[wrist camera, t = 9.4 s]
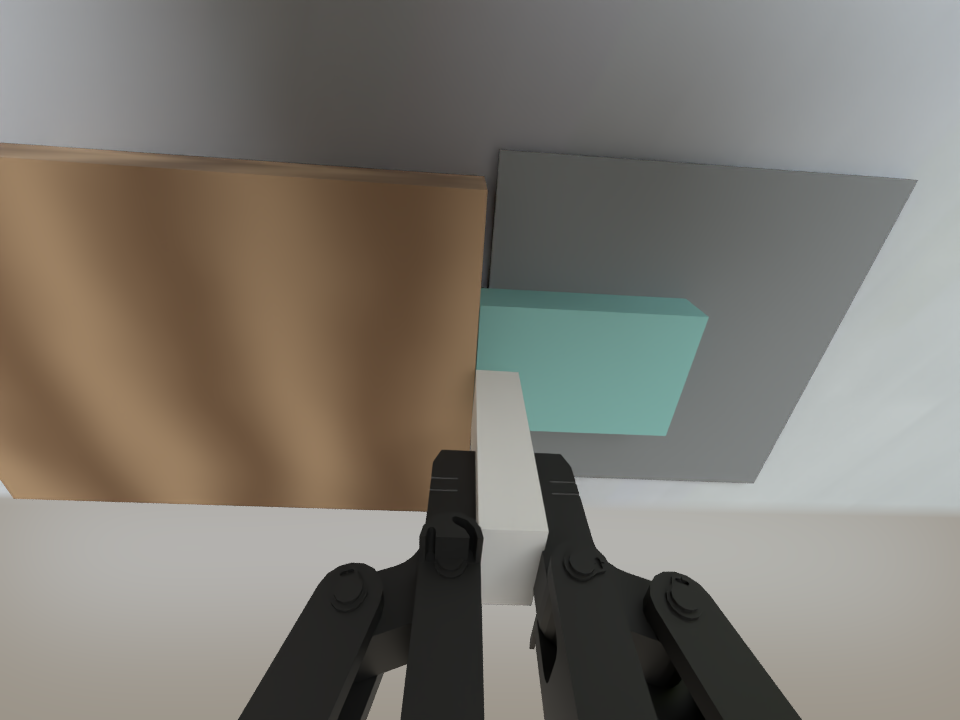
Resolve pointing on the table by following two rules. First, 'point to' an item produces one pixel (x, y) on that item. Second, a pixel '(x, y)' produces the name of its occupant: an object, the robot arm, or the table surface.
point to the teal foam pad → (591, 356)
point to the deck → (233, 328)
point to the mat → (697, 286)
